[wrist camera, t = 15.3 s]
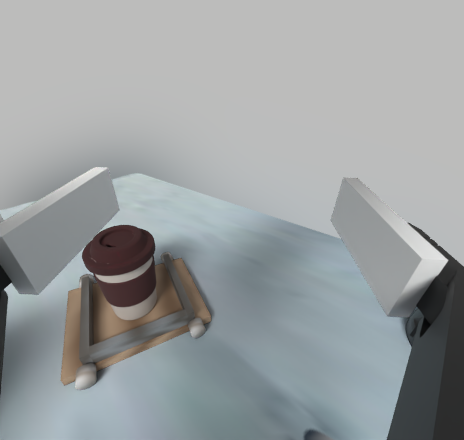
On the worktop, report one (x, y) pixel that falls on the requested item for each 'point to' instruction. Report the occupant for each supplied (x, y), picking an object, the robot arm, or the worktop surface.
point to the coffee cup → (124, 269)
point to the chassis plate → (127, 323)
